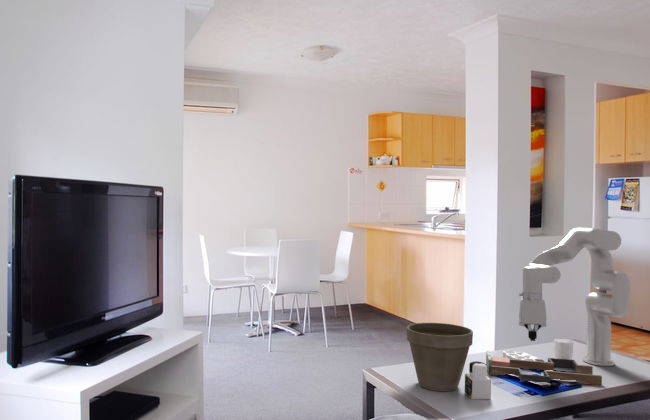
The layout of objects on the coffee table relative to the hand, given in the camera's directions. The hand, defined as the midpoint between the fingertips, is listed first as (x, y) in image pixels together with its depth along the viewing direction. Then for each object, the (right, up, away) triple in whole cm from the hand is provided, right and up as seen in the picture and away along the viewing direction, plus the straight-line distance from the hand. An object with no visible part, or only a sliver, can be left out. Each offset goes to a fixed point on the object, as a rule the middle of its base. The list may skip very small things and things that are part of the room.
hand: (532, 340), depth 213 cm
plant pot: (-43, -13, -18) cm, 49 cm away
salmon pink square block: (-12, -14, +4) cm, 19 cm away
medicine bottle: (-32, -13, -29) cm, 45 cm away
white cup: (+21, -15, +17) cm, 31 cm away
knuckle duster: (+2, -15, +16) cm, 22 cm away
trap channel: (+3, -14, -1) cm, 14 cm away
